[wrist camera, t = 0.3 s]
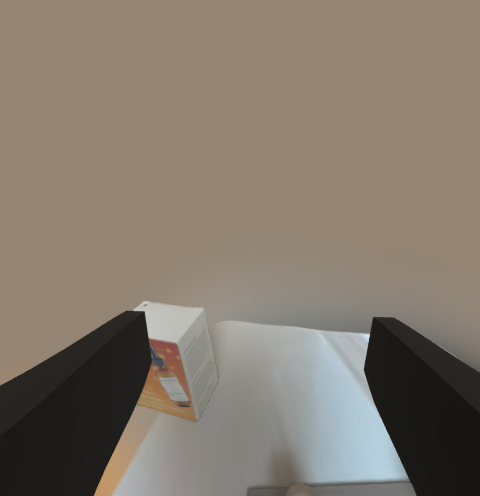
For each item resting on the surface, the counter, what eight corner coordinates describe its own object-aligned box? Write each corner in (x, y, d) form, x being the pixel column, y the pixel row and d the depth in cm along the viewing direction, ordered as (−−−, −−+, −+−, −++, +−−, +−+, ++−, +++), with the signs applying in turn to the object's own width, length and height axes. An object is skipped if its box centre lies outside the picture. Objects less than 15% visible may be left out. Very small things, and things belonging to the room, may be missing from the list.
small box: (135, 406, 32) (106, 330, 28) (164, 368, 37) (143, 298, 33) (198, 424, 29) (176, 343, 25) (220, 380, 34) (205, 306, 30)
